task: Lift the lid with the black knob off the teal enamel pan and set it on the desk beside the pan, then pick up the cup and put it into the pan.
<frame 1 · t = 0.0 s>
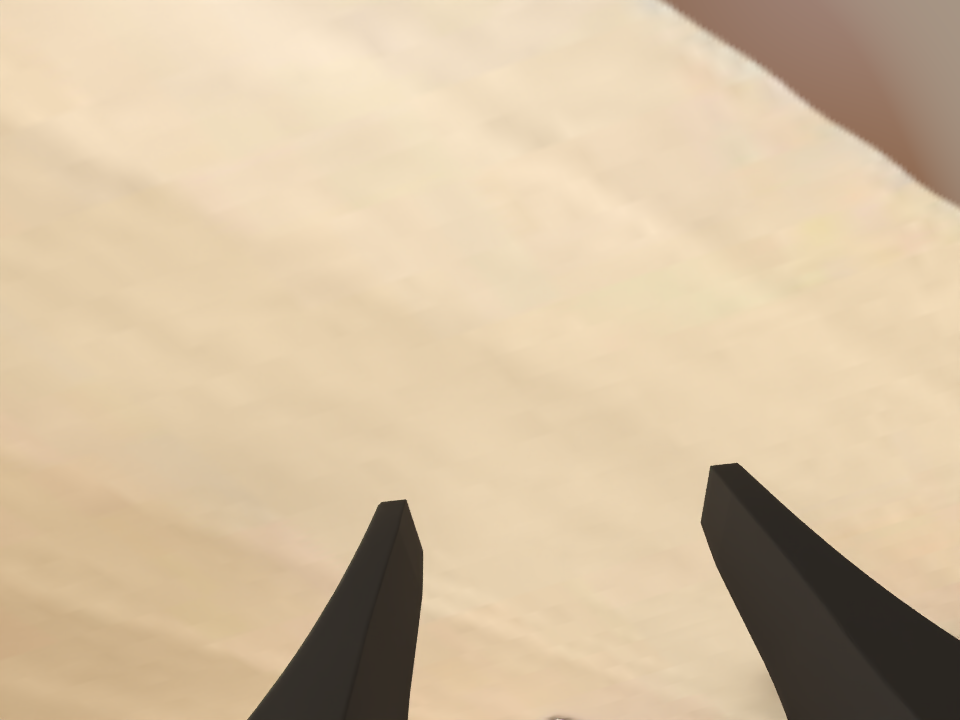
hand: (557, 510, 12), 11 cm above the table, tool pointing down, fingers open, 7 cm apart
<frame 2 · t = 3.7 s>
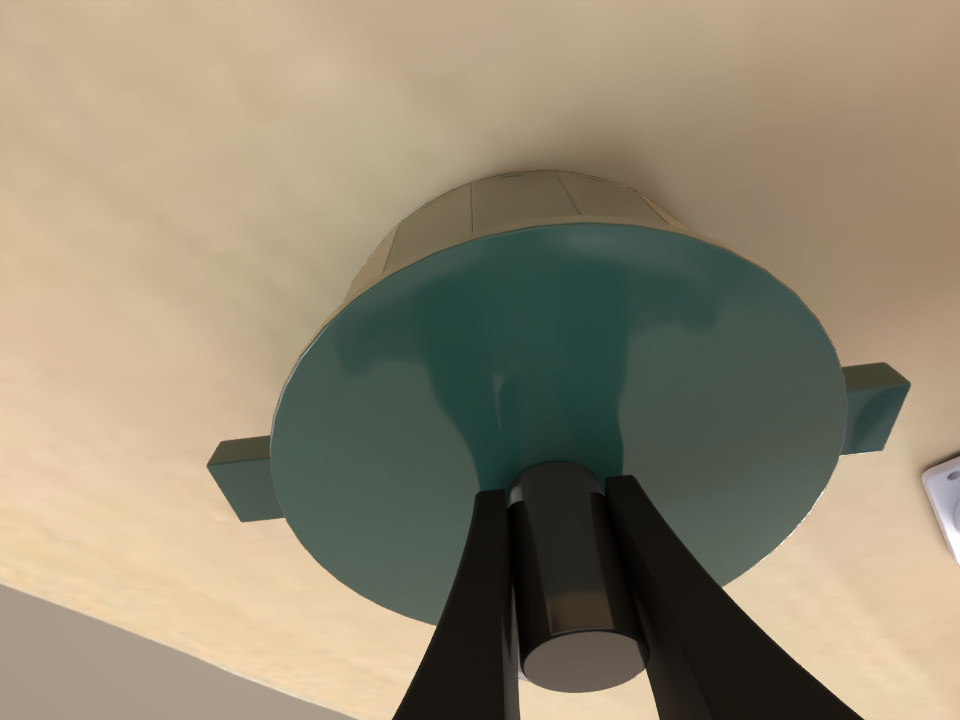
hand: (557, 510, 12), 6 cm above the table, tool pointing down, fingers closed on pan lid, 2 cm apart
pan: (529, 361, 17), on the table
pan lid: (551, 479, 13), point 5 cm above the table, touching gripper, pan
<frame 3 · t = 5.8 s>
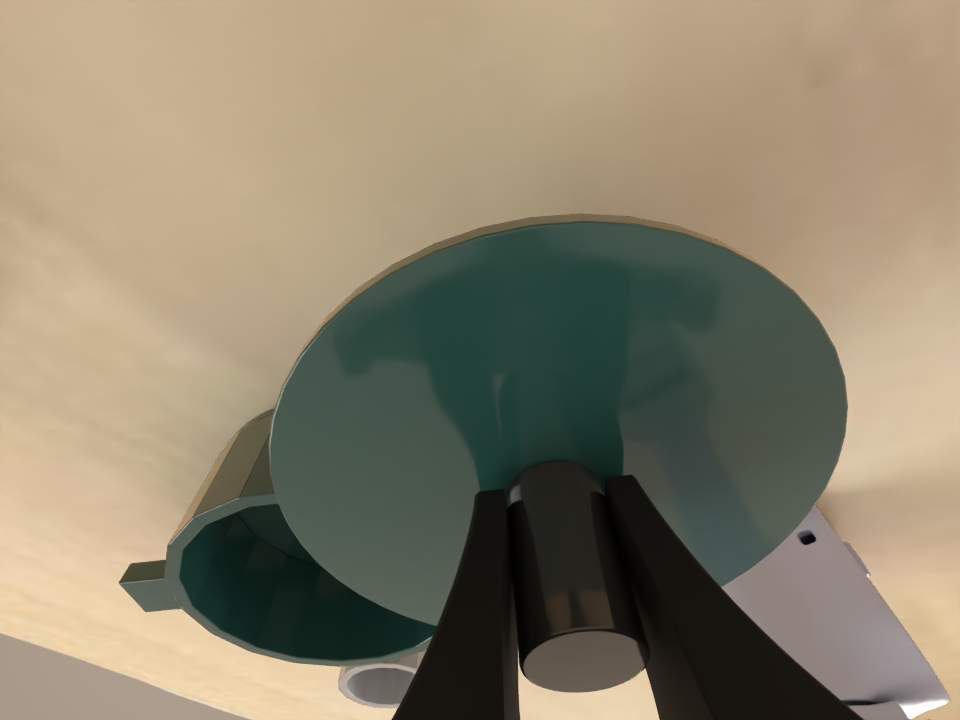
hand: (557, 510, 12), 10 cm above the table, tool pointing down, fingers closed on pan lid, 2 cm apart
cup: (396, 610, 32), on the table
pan: (348, 495, 26), on the table
pan lid: (550, 478, 13), point 9 cm above the table, touching gripper
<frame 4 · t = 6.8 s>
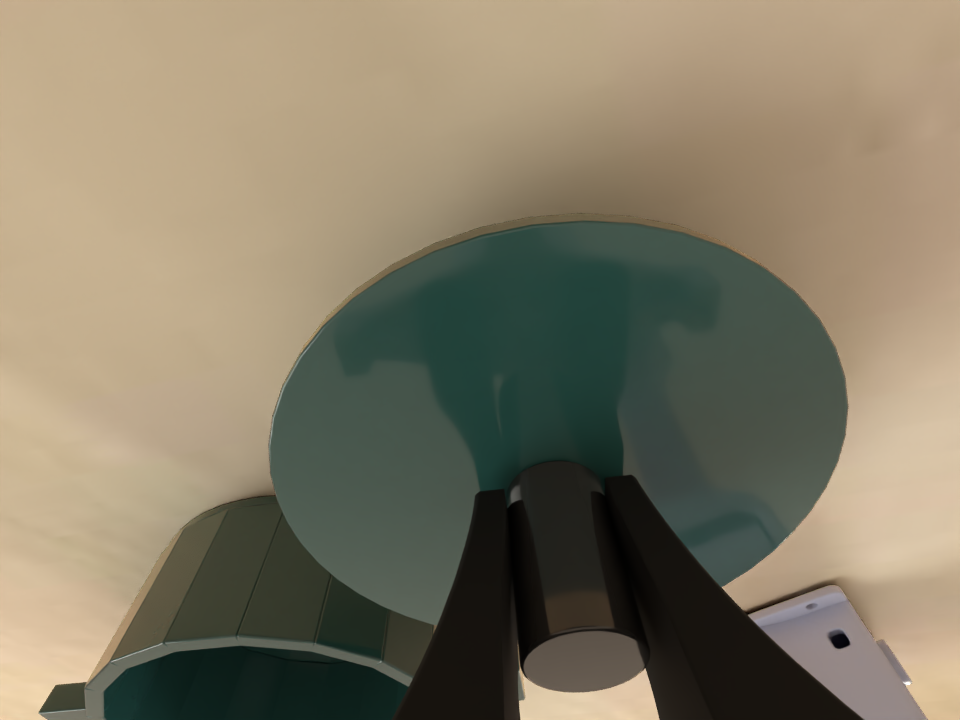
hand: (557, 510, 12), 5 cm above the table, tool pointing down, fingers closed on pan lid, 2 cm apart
pan: (314, 590, 23), on the table
pan lid: (551, 478, 13), point 4 cm above the table, touching gripper
when the fingers open (2 cm above the table, at t = 8.0 s): pan lid stays where it is, point 1 cm above the table.
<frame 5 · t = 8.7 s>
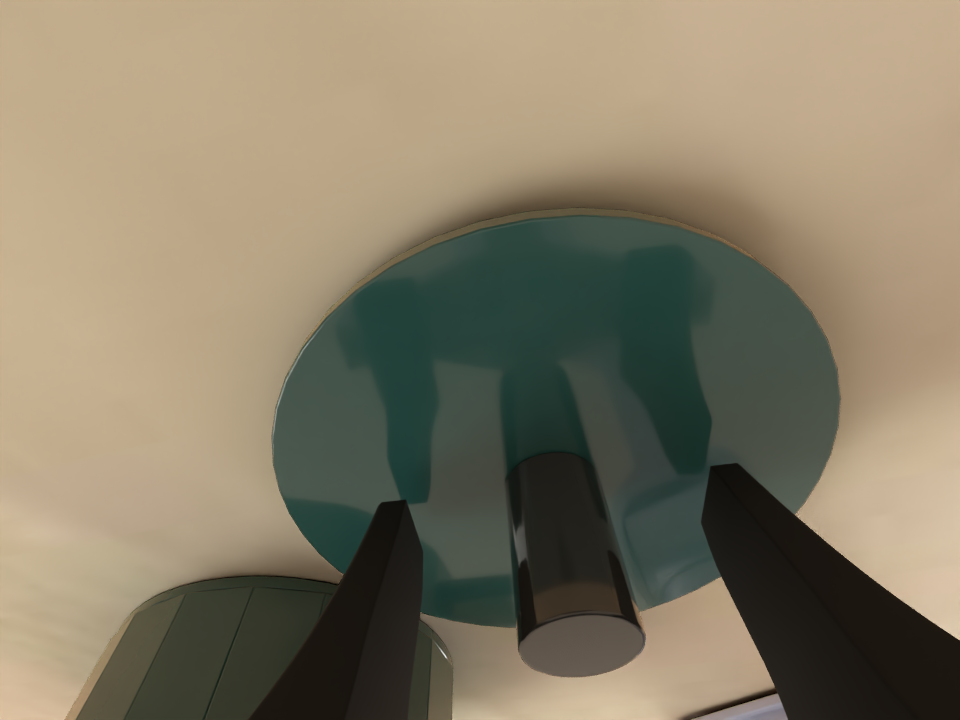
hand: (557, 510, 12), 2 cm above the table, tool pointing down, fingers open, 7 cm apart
pan: (292, 670, 20), on the table
pan lid: (549, 470, 13), point 1 cm above the table
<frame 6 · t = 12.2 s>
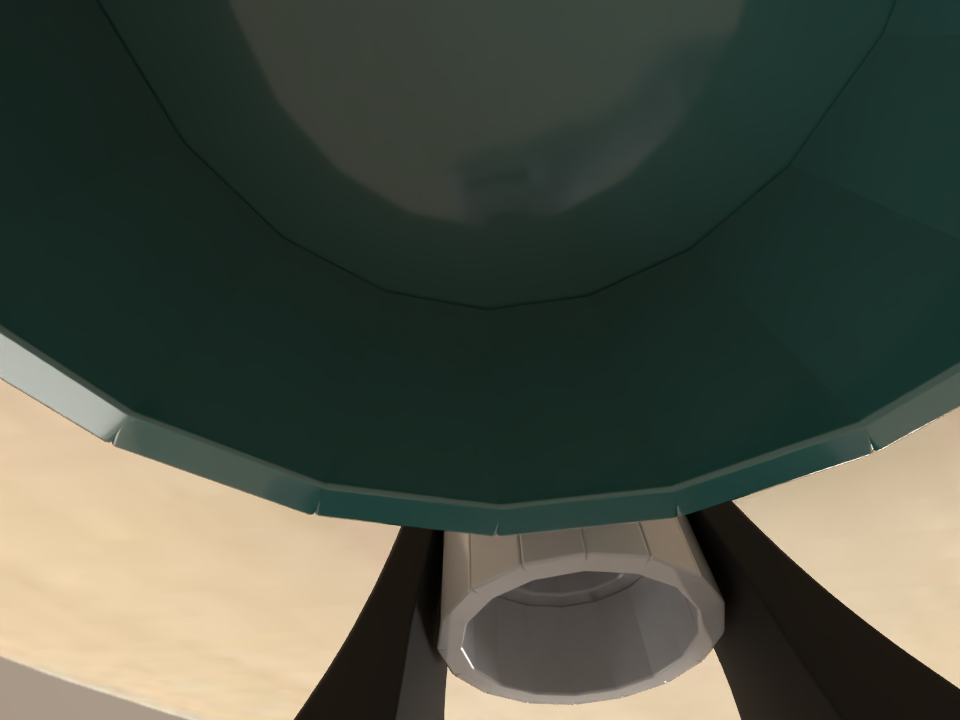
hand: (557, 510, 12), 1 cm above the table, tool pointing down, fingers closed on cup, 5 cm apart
cup: (548, 467, 13), on the table, touching gripper
when the fingers open (2 cm above the table, at t = 16.9 s): cup stays where it is, resting on pan.
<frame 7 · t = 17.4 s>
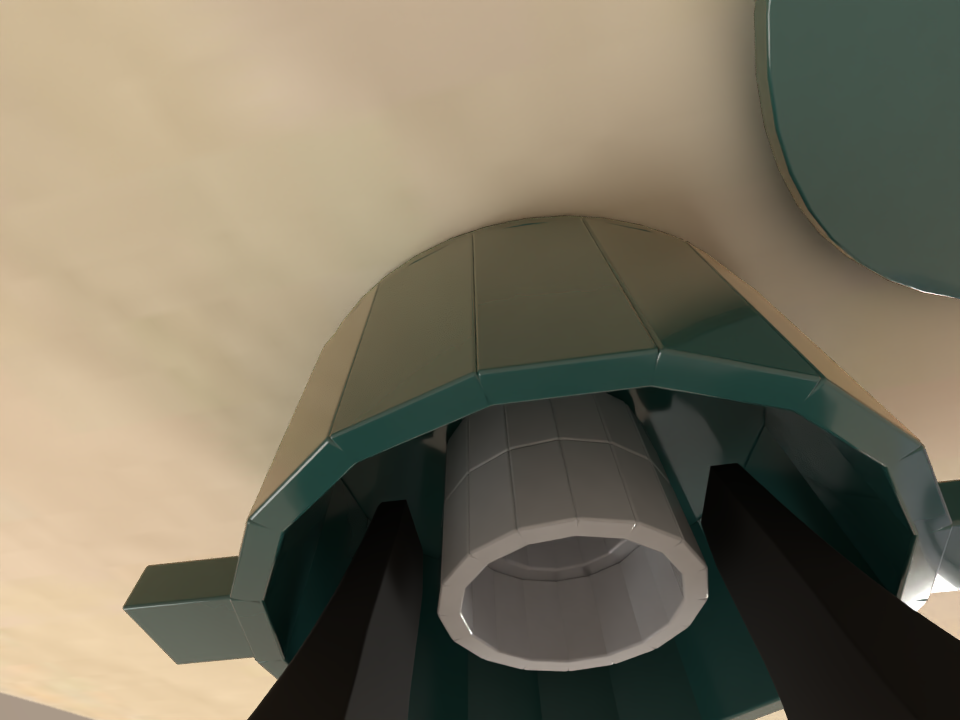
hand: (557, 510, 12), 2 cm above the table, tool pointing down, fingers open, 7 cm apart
cup: (543, 449, 14), resting on pan
pan: (543, 439, 14), on the table
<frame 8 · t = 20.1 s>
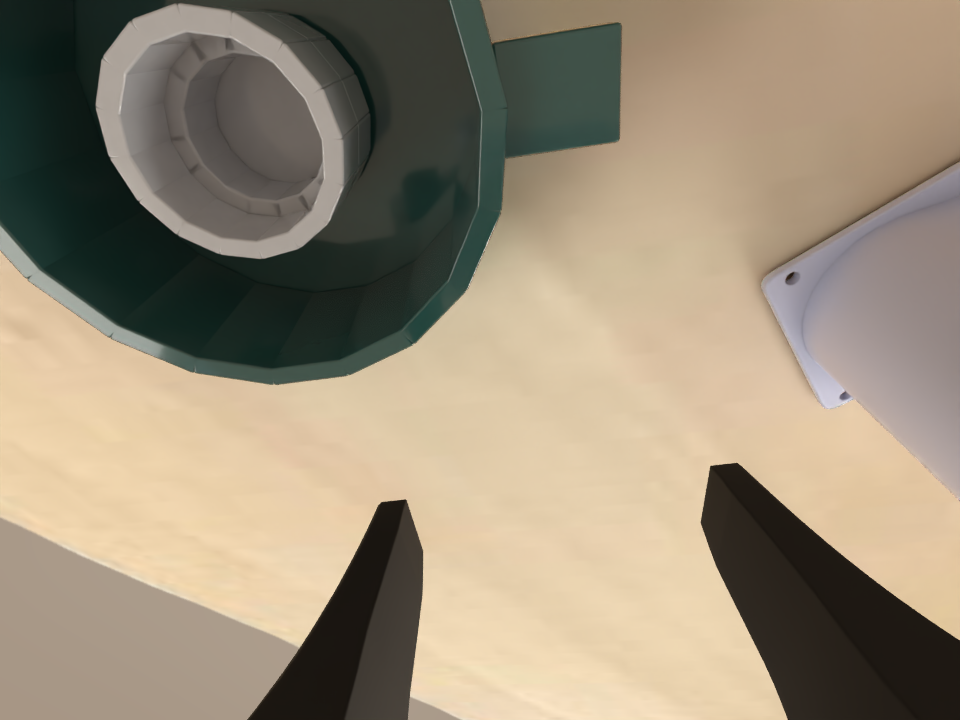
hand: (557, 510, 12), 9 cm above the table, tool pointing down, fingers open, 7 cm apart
cup: (284, 117, 15), resting on pan
pan: (289, 115, 16), on the table
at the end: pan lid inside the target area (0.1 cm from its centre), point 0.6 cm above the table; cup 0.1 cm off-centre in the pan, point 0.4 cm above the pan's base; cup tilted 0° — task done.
